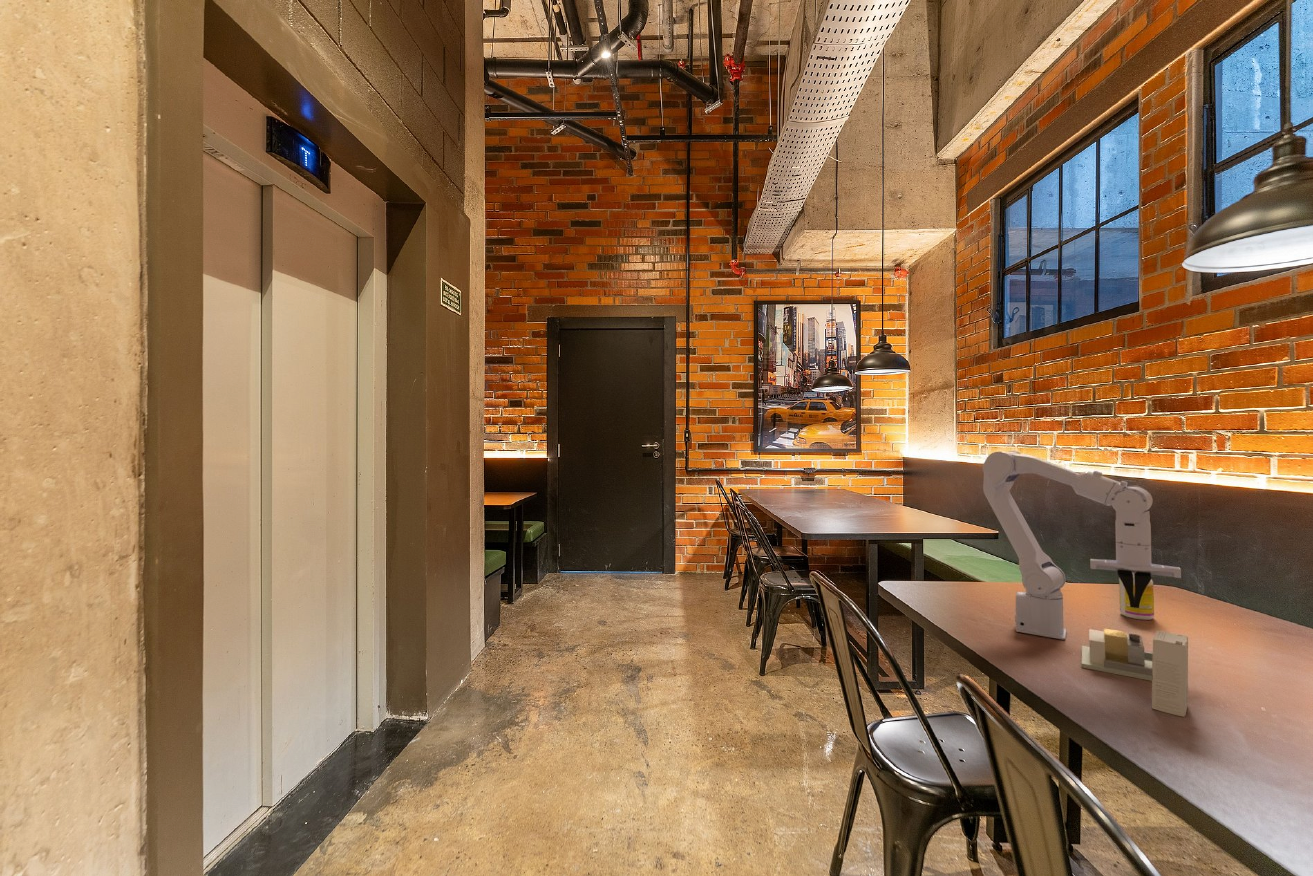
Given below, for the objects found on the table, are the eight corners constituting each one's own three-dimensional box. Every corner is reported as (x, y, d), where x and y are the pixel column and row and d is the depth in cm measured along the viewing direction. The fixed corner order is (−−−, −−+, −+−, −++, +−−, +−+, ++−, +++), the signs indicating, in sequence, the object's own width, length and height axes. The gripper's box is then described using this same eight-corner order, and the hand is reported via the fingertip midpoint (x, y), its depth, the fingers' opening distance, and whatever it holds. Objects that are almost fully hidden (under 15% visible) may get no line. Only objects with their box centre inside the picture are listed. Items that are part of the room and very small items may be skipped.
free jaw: (1128, 667, 106) (1127, 639, 106) (1125, 654, 113) (1125, 628, 113) (1144, 670, 105) (1144, 642, 105) (1141, 657, 111) (1140, 631, 111)
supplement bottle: (1160, 621, 136) (1159, 570, 136) (1130, 620, 137) (1129, 569, 138) (1142, 613, 143) (1141, 564, 143) (1113, 611, 144) (1112, 563, 144)
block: (1105, 661, 110) (1104, 634, 110) (1104, 654, 113) (1103, 628, 114) (1127, 666, 108) (1127, 638, 108) (1126, 658, 111) (1125, 631, 111)
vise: (1081, 667, 109) (1081, 641, 109) (1082, 649, 119) (1081, 625, 119) (1177, 686, 101) (1177, 657, 101) (1169, 664, 110) (1169, 639, 110)
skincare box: (1154, 697, 96) (1153, 629, 96) (1190, 706, 93) (1188, 635, 93) (1151, 709, 92) (1149, 638, 92) (1188, 719, 89) (1186, 644, 89)
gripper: (1090, 542, 118) (1091, 605, 118) (1182, 549, 109) (1184, 617, 109) (1089, 537, 123) (1091, 597, 123) (1177, 544, 114) (1179, 609, 114)
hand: (1134, 606), depth 116 cm, fingers closed
